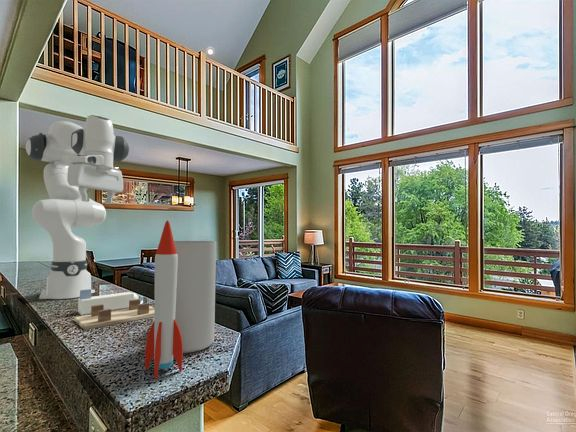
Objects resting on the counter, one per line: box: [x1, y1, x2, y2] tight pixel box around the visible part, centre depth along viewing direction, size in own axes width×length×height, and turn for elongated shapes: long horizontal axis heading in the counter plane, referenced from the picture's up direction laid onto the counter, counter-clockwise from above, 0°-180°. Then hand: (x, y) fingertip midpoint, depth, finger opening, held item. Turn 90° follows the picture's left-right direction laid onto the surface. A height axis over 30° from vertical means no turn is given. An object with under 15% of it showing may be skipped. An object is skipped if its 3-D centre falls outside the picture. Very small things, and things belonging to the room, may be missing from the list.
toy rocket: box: [144, 220, 184, 380], centre depth 64 cm, size 6×6×30 cm
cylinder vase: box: [174, 240, 217, 354], centre depth 78 cm, size 12×12×25 cm
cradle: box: [73, 298, 155, 331], centre depth 99 cm, size 12×22×4 cm, turn 135°
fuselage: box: [77, 288, 139, 316], centre depth 110 cm, size 4×18×8 cm, turn 135°
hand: (97, 202), depth 109 cm, fingers open, 8 cm apart
